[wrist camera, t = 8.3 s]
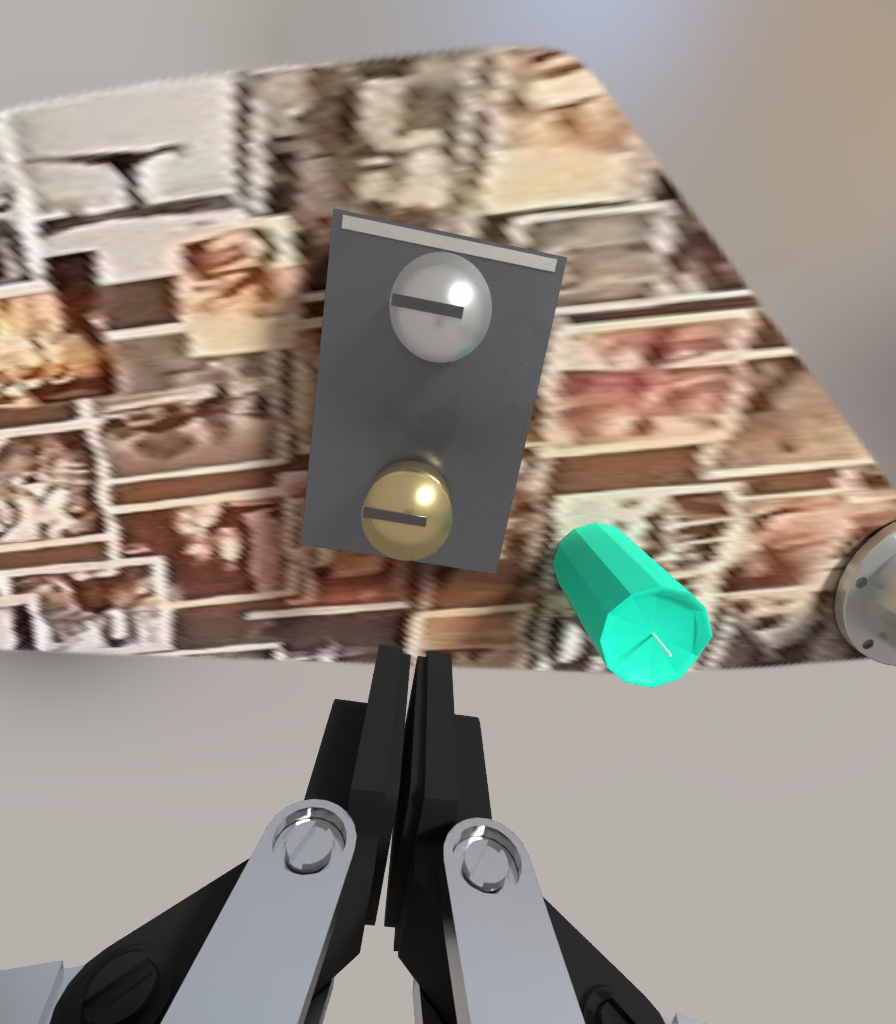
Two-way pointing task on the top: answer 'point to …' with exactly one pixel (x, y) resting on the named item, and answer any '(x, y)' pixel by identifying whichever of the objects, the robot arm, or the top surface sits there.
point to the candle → (630, 606)
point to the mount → (424, 388)
